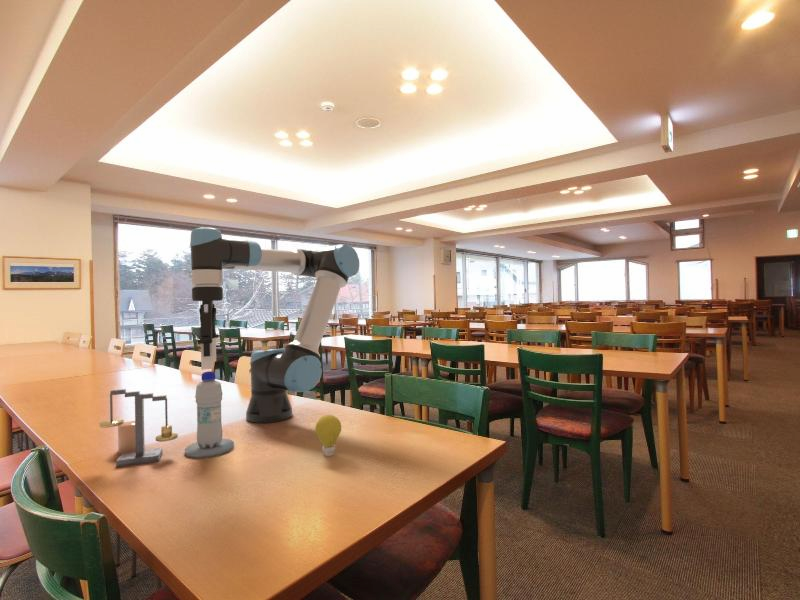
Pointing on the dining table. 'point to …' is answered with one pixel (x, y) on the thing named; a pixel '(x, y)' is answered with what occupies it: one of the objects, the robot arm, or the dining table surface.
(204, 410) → the bottle
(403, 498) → the dining table surface
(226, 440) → the dish
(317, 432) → the light bulb
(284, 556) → the dining table surface
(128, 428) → the peach rounded capsule
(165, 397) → the balance
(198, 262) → the robot arm
